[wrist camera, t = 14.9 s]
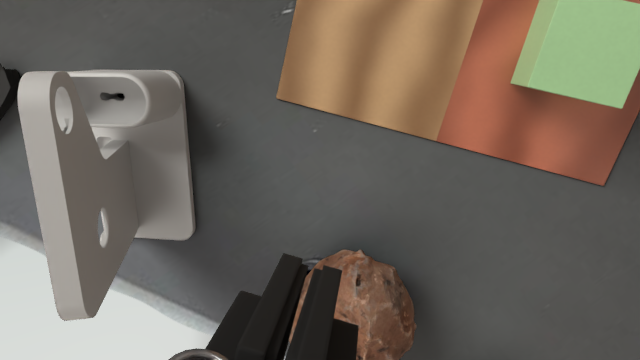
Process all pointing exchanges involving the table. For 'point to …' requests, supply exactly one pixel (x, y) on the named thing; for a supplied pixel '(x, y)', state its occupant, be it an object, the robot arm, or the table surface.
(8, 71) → the dark sector wedge
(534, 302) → the table surface
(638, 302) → the table surface
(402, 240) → the table surface
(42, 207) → the phone holder
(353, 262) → the decorative rock
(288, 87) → the plate
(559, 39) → the green block
